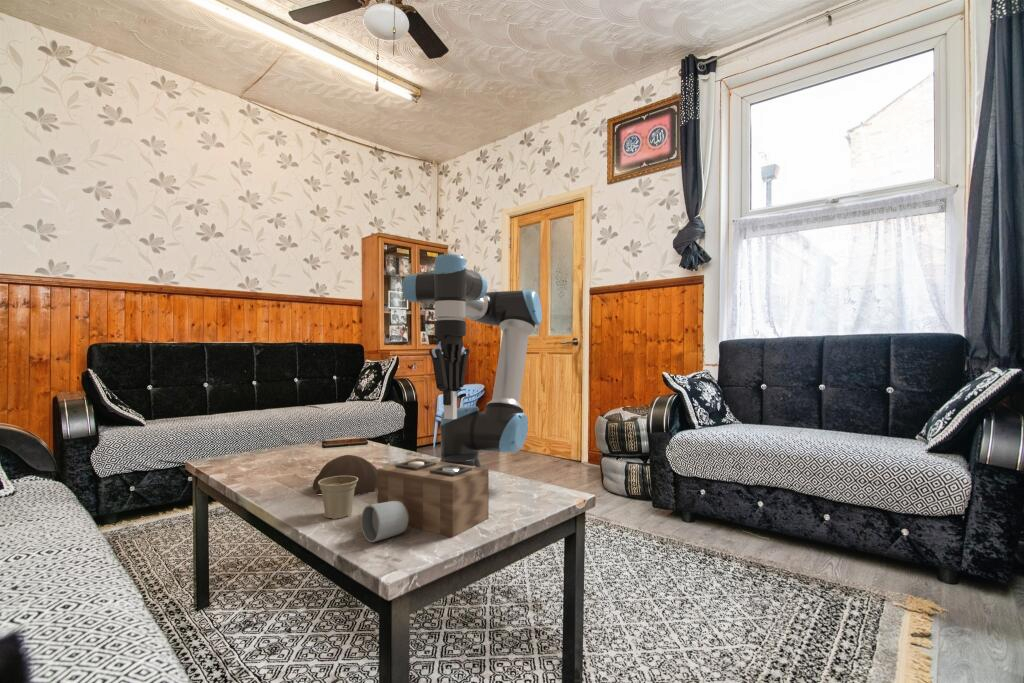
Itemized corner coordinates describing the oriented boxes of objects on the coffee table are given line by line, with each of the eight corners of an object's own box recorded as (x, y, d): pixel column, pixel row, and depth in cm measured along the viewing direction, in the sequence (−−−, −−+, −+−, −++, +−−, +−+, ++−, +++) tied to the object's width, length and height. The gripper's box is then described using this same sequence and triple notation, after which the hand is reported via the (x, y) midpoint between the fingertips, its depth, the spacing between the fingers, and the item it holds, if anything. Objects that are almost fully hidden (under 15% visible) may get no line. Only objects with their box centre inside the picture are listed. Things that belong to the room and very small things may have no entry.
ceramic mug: (411, 535, 106) (411, 500, 106) (378, 546, 100) (378, 509, 100) (385, 525, 113) (384, 492, 113) (352, 534, 107) (352, 499, 107)
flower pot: (315, 513, 121) (315, 478, 121) (353, 506, 126) (353, 473, 126) (321, 524, 113) (321, 487, 113) (362, 517, 118) (362, 481, 118)
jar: (447, 509, 123) (447, 462, 123) (438, 501, 130) (438, 456, 131) (480, 505, 127) (480, 459, 127) (469, 496, 134) (469, 453, 134)
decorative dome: (314, 501, 131) (314, 464, 131) (311, 483, 149) (311, 451, 149) (386, 493, 139) (386, 458, 139) (375, 477, 157) (375, 446, 157)
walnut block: (417, 503, 128) (417, 455, 129) (488, 518, 117) (488, 466, 117) (377, 518, 116) (377, 466, 117) (452, 537, 105) (452, 478, 105)
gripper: (454, 321, 123) (454, 414, 122) (419, 319, 112) (420, 421, 111) (478, 320, 119) (478, 416, 118) (445, 317, 108) (445, 423, 107)
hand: (450, 418), depth 115 cm, fingers closed
